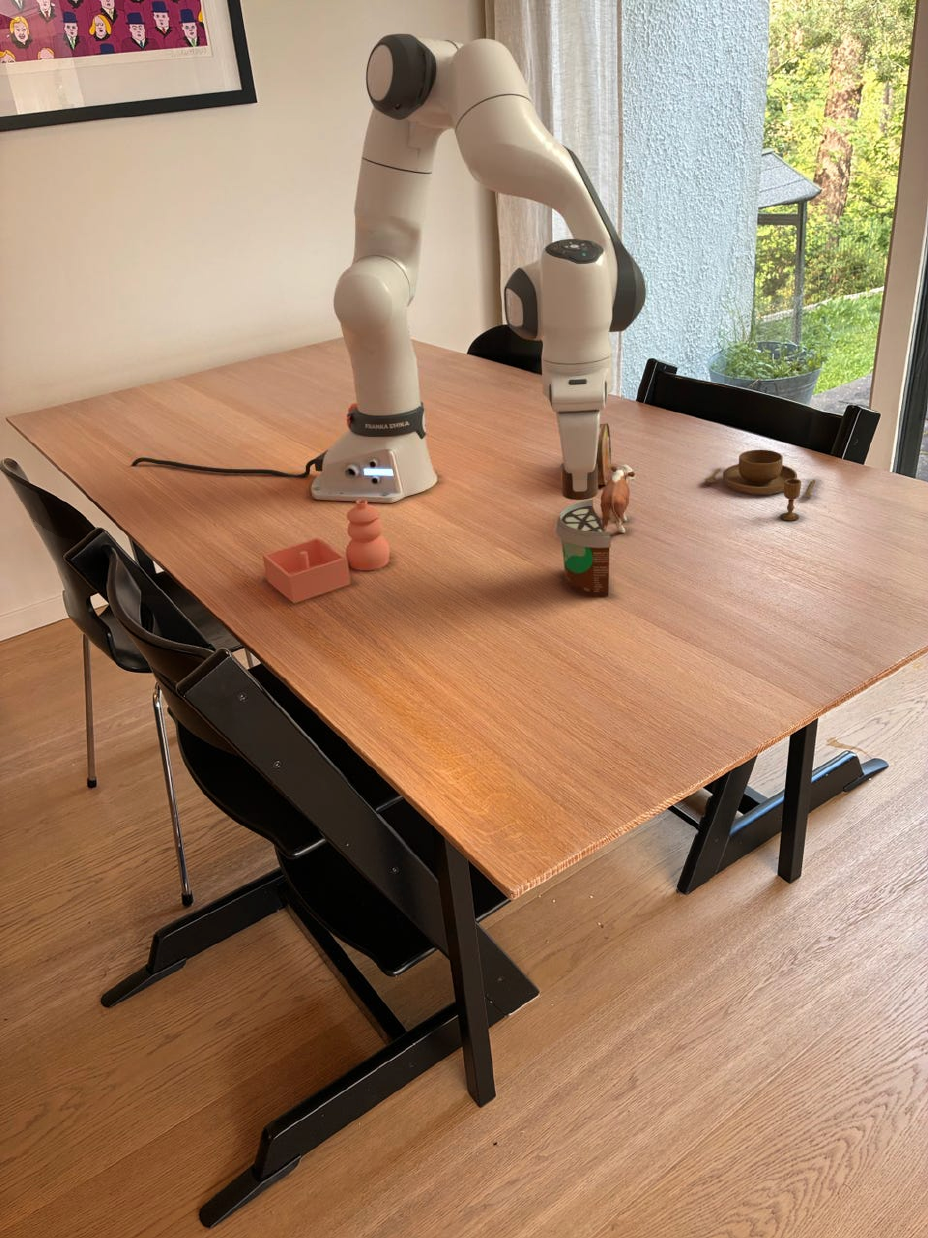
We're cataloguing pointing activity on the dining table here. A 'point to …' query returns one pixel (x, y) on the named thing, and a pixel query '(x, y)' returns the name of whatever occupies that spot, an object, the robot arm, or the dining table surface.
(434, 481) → the robot arm
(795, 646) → the dining table surface
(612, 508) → the bull figurine
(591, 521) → the food container
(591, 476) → the brown cylinder
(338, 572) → the pottery
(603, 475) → the tin
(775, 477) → the place setting
